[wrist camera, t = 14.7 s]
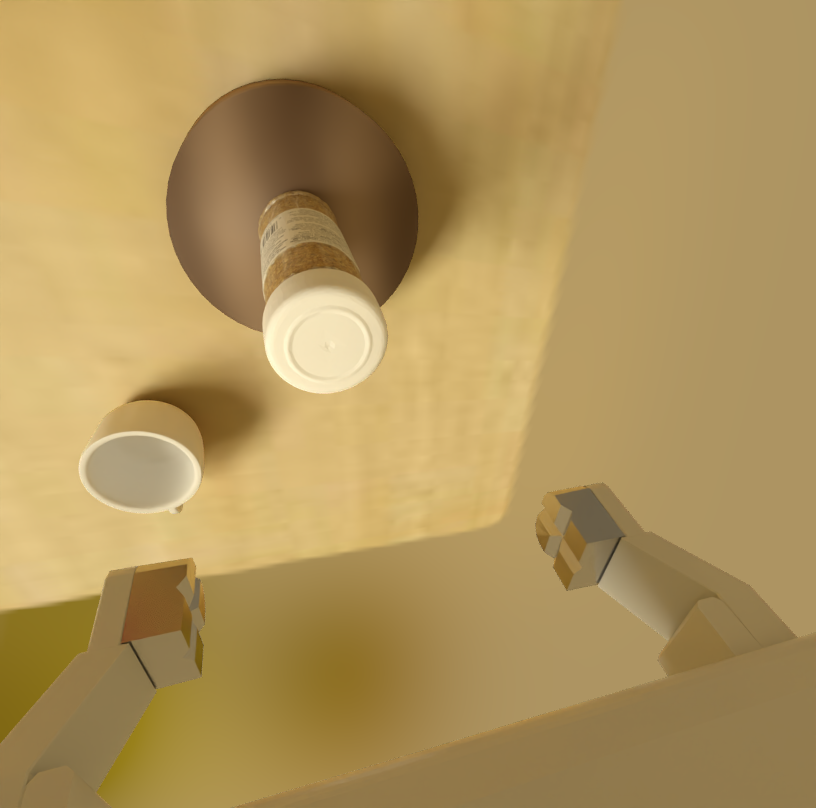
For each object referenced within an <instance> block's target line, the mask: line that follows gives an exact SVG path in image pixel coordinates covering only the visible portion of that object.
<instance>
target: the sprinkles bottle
mask: <svg viewBox="0 0 816 808" xmlns="http://www.w3.org/2000/svg"><path fill="white" fill-rule="evenodd" d="M258 234H259V239H260V242H261V244H260V254H261V273H262V286H263V295H264V299H265V303H266V306H265V309H264V313H263V322H262V326H263V336H264V344H265V350H266V354H267V357H268V360H269V362H270V364H271V365H272V367H273V369H274V370H275V371H276V373H277V374H278V375H279V376H280V377H281V378H282V379H283V380H285V381H286V382H287V383H289V384H291V385H292V386H294V387H296V388H298V389H301V390H304V391H308V392H312V393H335V392H340V391H344V390H347V389H349V388H352V387H354V386H356V385H358V384H359V383H361V382H363V381H364V380H365V379H367V378H368V377H369V376H370V375H371V374H372V373H373V372H374V371H375V370H376V368H377V367H378V366H379V364H380V362H381V361H382V359H383V357H384V354H385V351H386V347H387V341H388V333H387V325H386V321H385V319H384V316H383V313H382V311H381V309H380V306H379V304H378V302H377V300H376V298H375V296H374V295H373V293H372V292H371V290H370V289H369V288H368V286H367V285H366V284H365V283H363V281H362V279H361V276H360V271H359V268H358V266H357V264H356V262H355V260H354V258H353V256H352V254H351V251H350V249H349V247H348V245H347V243H346V241H345V239H344V237H343V235H342V233H341V231H340V229H339V228H338V224H337V221H336V218H335V216H334V214H333V212H332V211H331V209H330V208H329V206H328V205H327V203H325V202H324V201H322V200H321V199H320V198H319V197H317V196H315V195H313V194H311V193H308V192H303V191H298V190H297V191H289V192H285V193H282V194H280V195H278V196H277V197H275V198H273V199H272V200H271V201H270V202H269V203H268V204H267V206H266V207H265V208H264V210H263V212H262V215H261V216H260V219H259V228H258Z"/></svg>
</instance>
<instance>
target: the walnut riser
mask: <svg viewBox="0 0 816 808" xmlns="http://www.w3.org/2000/svg"><path fill="white" fill-rule="evenodd" d="M297 190H298V191H303V192H308V193H311V194H313V195H315V196H317V197H319V198H320V199H321V200H322V201H324V202H325V203H327V205H328V206H329V208H330V209H331V211H332V212H333V214H334V216H335V218H336V221H337V224H338V228H339V229H340V231H341V233H342V235H343V237H344V239H345V241H346V243H347V245H348V247H349V249H350V251H351V254H352V256H353V258H354V260H355V262H356V264H357V266H358V268H359V271H360V276H361V279H362V281H363V283H365V284H366V285H367V286H368V288H369V289H370V290H371V292H372V293H373V295H374V296H375V298H376V300H377V302H378V304H379V306H380V307H381V306H382V305H383V304H384V303H385V302H386V301H387V300H388V298H389V297H390V296H391V295H392V294H393V293H394V291H395V290H396V288H397V287H398V285H399V284H400V283H401V281H402V279H403V277H404V275H405V273H406V271H407V269H408V267H409V264H410V262H411V259H412V256H413V253H414V249H415V245H416V239H417V231H418V207H417V199H416V193H415V189H414V185H413V182H412V178H411V176H410V173H409V171H408V168H407V166H406V163H405V162H404V160H403V158H402V156H401V154H400V152H399V151H398V149H397V147H396V146H395V145H394V143H393V142H392V141H391V139H390V138H389V136H388V135H387V134H386V133H385V132H384V131H383V130H382V129H381V128H380V127H379V125H378V124H377V123H376V122H375V121H373V120H372V119H371V118H370V117H369V116H367V115H366V114H365V113H364V112H362V111H361V110H360V109H358V108H357V107H356V106H354V105H353V104H352V103H350V102H349V101H347V100H346V99H344V98H342V97H341V96H339V95H337V94H336V93H334V92H332V91H330V90H327V89H325V88H323V87H320V86H318V85H314V84H310V83H307V82H303V81H297V80H288V79H274V80H264V81H259V82H254V83H250V84H247V85H244V86H241V87H239V88H236V89H234V90H232V91H230V92H229V93H227V94H225V95H223V96H222V97H220V98H219V99H218V100H216V101H215V102H214V103H213V104H211V105H210V106H209V107H208V108H207V109H206V110H205V111H204V112H203V113H202V114H201V116H200V117H199V118H198V119H197V120H196V122H195V123H194V125H193V126H192V128H191V129H190V131H189V132H188V134H187V136H186V138H185V140H184V142H183V143H182V145H181V147H180V149H179V152H178V154H177V156H176V159H175V161H174V163H173V166H172V170H171V174H170V177H169V181H168V189H167V198H166V206H167V221H168V227H169V233H170V237H171V240H172V243H173V247H174V250H175V252H176V255H177V257H178V259H179V261H180V263H181V265H182V267H183V269H184V271H185V272H186V274H187V275H188V277H189V279H190V280H191V282H192V283H193V284H194V285H195V287H196V288H197V289H198V290H199V292H200V293H201V294H202V295H203V296H204V297H205V298H206V299H207V300H208V301H209V302H210V303H211V304H212V305H213V306H215V307H216V308H217V309H219V310H220V311H221V312H222V313H224V314H225V315H227V316H228V317H230V318H232V319H233V320H235V321H237V322H238V323H240V324H242V325H245V326H247V327H249V328H251V329H254V330H257V331H260V332H263V326H262V322H263V313H264V309H265V306H266V303H265V299H264V295H263V286H262V273H261V254H260V244H261V242H260V239H259V234H258V228H259V219H260V216H261V215H262V212H263V210H264V208H265V207H266V206H267V204H268V203H269V202H270V201H271V200H272V199H273V198H275V197H277V196H278V195H280V194H282V193H285V192H289V191H297Z"/></svg>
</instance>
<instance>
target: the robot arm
mask: <svg viewBox="0 0 816 808" xmlns="http://www.w3.org/2000/svg"><path fill="white" fill-rule="evenodd" d="M542 505H543V506H544V509H543V511H541V512H540V513H539V514H538V516H537V519H536V523H535V527H536V535H537V538H538V541H539V543H540V545H541V547H542V549H543V551H544V552H545V553H546V554H548V555H550V556H551V557H553V558H554V564H553V568H554V570H555V572H556V573H557V575H558V577H559V578H560V580H561V582H562V583H563V585H564V587H565V588H566V590H567V591H568V590H573V589H578V588H582V587H588V586H592V585H597V584H599V585H598V587H599V588H601V589H602V590H603V591H604V592H606V593H607V594H608V595H610V596H611V597H612V598H614V599H615V600H616V601H617V602H619V603H620V604H621V605H623V606H624V607H625V608H626V609H628V610H629V611H630V612H632V613H633V614H634V615H636V616H637V617H638V618H639V619H641V620H642V621H643V622H645V623H646V624H647V625H648V626H650V627H651V628H652V629H654V630H655V631H656V632H657V633H659V634H660V635H661V636H663V637H664V638H665V639H667V640H668V643H667V644H666V646H665V647H664V648H663V650H662V651H661V652H660V654H659V657H658V662H659V664H660V665H661V667H662V668H663V670H664V671H665V673H666V674H667V676H668V677H665V678H662V679H658V680H655V681H652V682H648V683H645V684H642V685H638V686H635V687H632V688H629V689H625V690H622V691H619V692H615V693H612V694H609V695H605V696H602V697H598V698H595V699H592V700H588V701H585V702H582V703H578V704H575V705H572V706H569V707H565V708H562V709H559V710H555V711H552V712H548V713H546V714H542V715H538V716H535V717H532V718H528V719H525V720H522V721H518V722H515V723H512V724H508V725H505V726H502V727H498V728H495V729H492V730H489V731H485V732H482V733H479V734H475V735H472V736H468V737H465V738H462V739H458V740H455V741H452V742H449V743H445V744H442V745H438V746H435V747H432V748H429V749H425V750H422V751H419V752H415V753H412V754H408V755H405V756H402V757H399V758H395V759H392V760H389V761H386V762H382V763H379V764H375V765H372V766H369V767H365V768H362V769H359V770H355V771H352V772H349V773H346V774H342V775H339V776H335V777H332V778H329V779H325V780H322V781H319V782H316V783H312V784H309V785H305V786H302V787H299V788H295V789H293V790H289V791H285V792H282V793H279V794H276V795H272V796H269V797H265V798H262V799H259V800H255V801H252V802H249V803H245V804H242V805H239V806H236V807H232V808H816V632H815V633H811V634H808V635H805V636H801V637H797V636H796V635H795V634H794V633H793V632H792V631H791V630H790V629H789V628H788V626H786V624H785V623H784V622H783V621H782V620H781V619H780V618H779V617H778V615H777V614H776V613H775V612H774V611H773V610H772V609H771V608H770V607H769V606H768V604H767V603H766V602H765V601H764V600H763V599H762V598H761V597H760V596H759V595H758V594H757V592H756V591H755V590H754V589H753V588H752V587H751V586H750V585H748V584H746V583H745V582H743V581H741V580H739V579H737V578H735V577H733V576H732V575H730V574H728V573H726V572H724V571H722V570H721V569H718V568H717V567H715V566H713V565H711V564H709V563H708V562H706V561H704V560H702V559H700V558H698V557H697V556H695V555H693V554H691V553H689V552H687V551H686V550H684V549H682V548H680V547H678V546H676V545H674V544H672V543H671V542H669V541H667V540H665V539H663V538H662V537H660V536H658V535H656V534H654V533H652V532H644V530H643V529H642V528H641V526H640V525H639V524H638V523H637V521H636V520H635V519H634V518H633V516H632V515H631V514H630V513H629V511H627V509H626V508H625V507H624V505H623V504H622V503H621V502H620V500H619V499H618V498H617V497H616V496H615V494H614V493H613V492H612V491H611V489H610V488H609V487H608V486H607V485H606V484H604V483H596V484H591V485H587V486H578V487H573V488H568V489H563V490H558V491H553V492H548V493H547V494H545V495H544V497H543V500H542ZM195 575H196V566H195V563H194V561H193V558H187V559H180V560H174V561H168V562H161V563H155V564H149V565H142V566H136V567H130V568H124V569H118V570H113V571H110V572H109V574H108V575H107V577H106V579H105V581H104V585H103V589H102V594H101V598H100V602H99V606H98V610H97V614H96V618H95V622H94V626H93V630H92V634H91V638H90V642H89V646H88V650H87V652H84V653H80V654H78V655H77V656H76V657H75V658H74V659H73V661H72V662H71V663H70V664H69V665H68V667H67V668H66V669H65V670H64V671H63V672H62V673H61V674H60V676H59V677H58V678H57V679H56V680H55V682H54V683H53V684H52V685H51V686H50V687H49V688H48V689H47V691H46V692H45V693H44V694H43V695H42V696H41V697H40V699H39V700H38V701H37V702H36V703H35V704H34V706H33V707H32V708H31V709H30V710H29V711H28V713H27V714H26V715H25V716H24V717H23V718H22V719H21V721H20V722H19V723H18V724H17V725H16V726H15V727H14V729H13V730H12V731H11V732H10V733H9V734H8V736H7V737H6V738H5V739H4V740H3V741H2V742H1V744H0V808H111V807H110V806H109V805H108V804H107V803H106V802H105V801H104V800H103V799H102V798H101V797H100V796H99V795H98V794H97V793H96V792H97V790H98V788H99V787H100V785H101V783H102V782H103V780H104V778H105V777H106V775H107V773H108V772H109V770H110V768H111V767H112V765H113V763H114V762H115V760H116V758H117V757H118V755H119V753H120V752H121V750H122V748H123V747H124V745H125V743H126V742H127V740H128V738H129V737H130V735H131V733H132V732H133V730H134V728H135V727H136V725H137V723H138V722H139V720H140V718H141V717H142V715H143V713H144V712H145V710H146V709H147V707H148V705H149V703H150V702H151V700H152V699H153V697H154V695H155V694H156V690H155V689H158V688H162V687H166V686H169V685H173V684H177V683H181V682H185V681H189V680H193V679H196V678H200V677H202V661H203V646H204V645H203V642H202V640H201V637H200V634H199V631H200V630H201V629H202V627H203V626H204V625H205V597H204V591H203V586H202V583H201V580H200V579H198V578H196V577H195Z"/></svg>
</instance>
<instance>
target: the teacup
mask: <svg viewBox="0 0 816 808" xmlns="http://www.w3.org/2000/svg"><path fill="white" fill-rule="evenodd" d="M203 473H204V445H203V440H202V436H201V434H200V431H199V429H198V427H197V425H196V423H195V422H194V421H193V419H192V418H191V417H190V416H189V415H188V414H187V413H185V412H184V411H183V410H181V409H179V408H178V407H176V406H173V405H171V404H168V403H165V402H161V401H154V400H142V401H135V402H130V403H127V404H124V405H122V406H120V407H117V408H116V409H114V410H112V411H111V412H109V413H108V414H107V415H106V416H105V417H104V418H103V419H102V420H101V421H100V423H99V424H98V426H97V428H96V430H95V432H94V433H93V435H92V437H91V438H90V440H89V442H88V444H87V446H86V447H85V449H84V451H83V453H82V455H81V457H80V461H79V475H80V479H81V481H82V483H83V485H84V486H85V488H86V489H87V490H88V492H89V493H90V494H91V495H93V496H94V497H95V498H96V499H98V500H99V501H101V502H102V503H104V504H106V505H108V506H110V507H113V508H116V509H119V510H122V511H127V512H133V513H157V512H163V511H167V510H169V511H170V512H171V513H172V514H177V513H180V512H181V511H182V508H183V503H185V502H187V501H188V500H189V499H190V498H191V497H192V496H193V495H194V494H195V493H196V491H197V490H198V488H199V486H200V484H201V481H202V477H203Z"/></svg>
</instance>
